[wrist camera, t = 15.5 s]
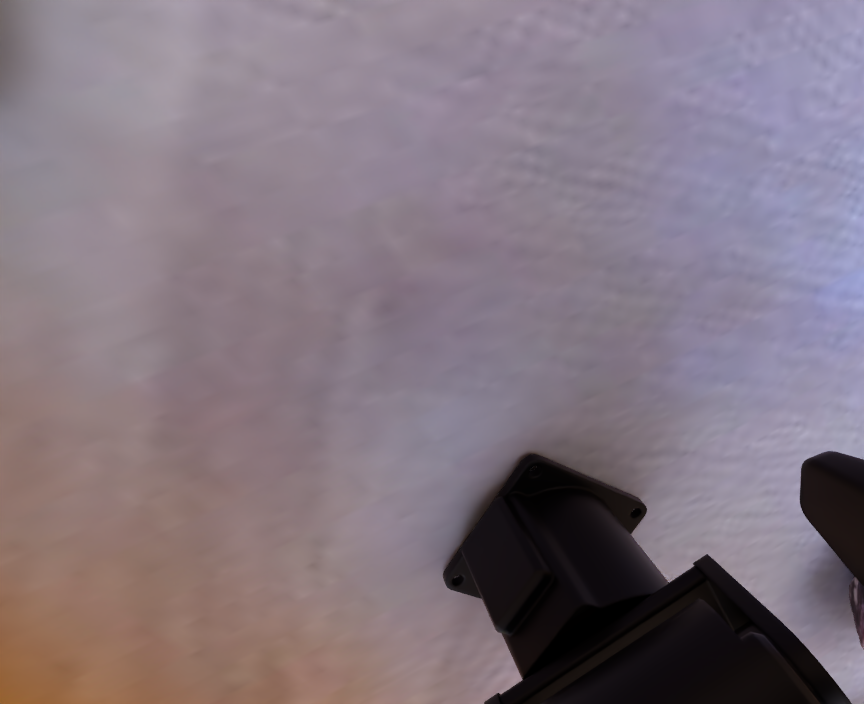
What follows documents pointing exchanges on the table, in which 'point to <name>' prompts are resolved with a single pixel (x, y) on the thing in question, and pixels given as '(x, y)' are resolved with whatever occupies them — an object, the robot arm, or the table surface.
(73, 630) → the table surface
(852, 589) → the mineral specimen
